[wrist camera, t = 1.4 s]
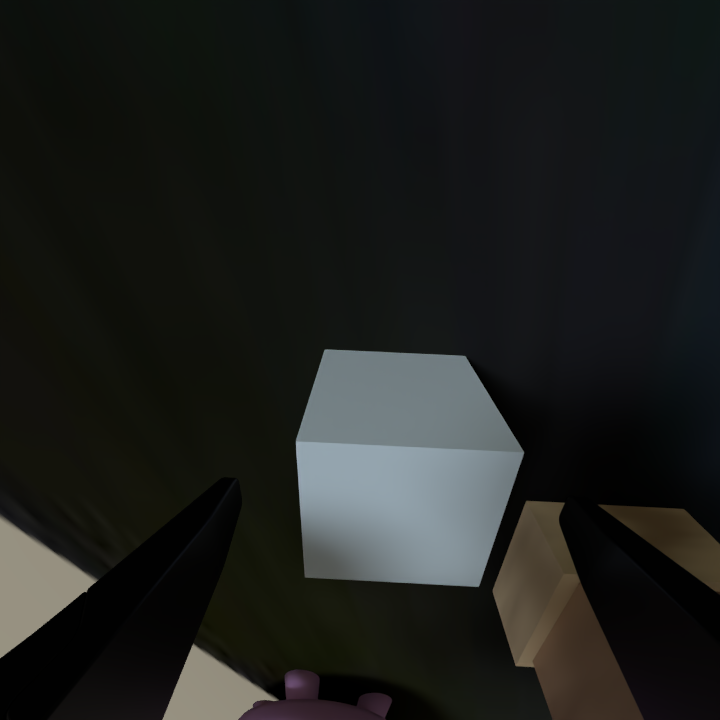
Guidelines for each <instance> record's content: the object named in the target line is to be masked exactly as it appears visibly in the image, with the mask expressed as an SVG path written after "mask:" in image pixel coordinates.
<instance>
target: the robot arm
mask: <svg viewBox="0 0 720 720" xmlns="http://www.w3.org/2000/svg"><path fill="white" fill-rule="evenodd" d="M241 505H242V496H241V491H240V485H239V481H238V479H237V478H227V477H224V478H221V479H220V480H218V481H217V482H216V483H215V484H214V485H212V486H211V487H210V488H209V489H208V490H206V491H205V492H204V493H203V494H202V495H200V496H199V497H198V498H197V499H196V500H194V501H193V502H192V503H191V504H190V505H188V506H187V507H186V508H185V509H183V510H182V511H181V512H180V513H179V514H177V515H176V516H175V517H174V518H173V519H171V520H170V521H169V522H168V523H167V524H165V525H164V526H163V527H162V528H161V529H159V530H158V531H157V532H156V533H155V534H153V535H152V536H151V537H150V538H149V539H147V540H146V541H145V542H144V543H143V544H141V545H140V546H139V547H138V548H137V549H135V550H134V551H133V552H132V553H131V554H129V555H128V556H127V557H126V558H124V559H123V560H122V561H121V562H120V563H118V564H117V565H116V566H115V567H114V568H112V569H111V570H110V571H109V572H108V573H106V574H105V575H104V576H103V577H102V578H100V579H99V580H98V581H97V582H96V583H94V584H93V585H92V586H91V587H90V588H88V590H87V592H84V593H82V594H81V595H80V596H79V597H78V598H76V599H75V600H74V601H73V602H71V603H70V604H69V605H68V606H67V607H66V608H64V609H63V610H62V611H60V612H59V613H58V614H57V615H55V616H54V617H53V618H52V619H50V620H49V621H48V622H47V623H45V624H44V625H43V626H42V627H41V628H39V629H38V630H37V631H36V632H34V633H33V634H32V635H31V636H29V637H28V638H26V639H25V640H24V641H23V642H21V643H20V644H19V645H17V646H16V647H15V648H13V649H12V650H11V651H9V652H8V653H7V654H5V655H4V656H3V657H1V658H0V720H162V719H163V717H164V714H165V712H166V709H167V707H168V704H169V701H170V699H171V697H172V694H173V692H174V689H175V687H176V684H177V682H178V679H179V677H180V674H181V672H182V669H183V667H184V664H185V662H186V660H187V657H188V654H189V652H190V650H191V647H192V645H193V642H194V640H195V637H196V635H197V632H198V630H199V627H200V625H201V622H202V620H203V617H204V615H205V612H206V610H207V607H208V605H209V602H210V600H211V597H212V595H213V592H214V590H215V587H216V585H217V582H218V580H219V577H220V575H221V572H222V570H223V567H224V564H225V561H226V558H227V554H228V551H229V547H230V544H231V541H232V537H233V534H234V530H235V527H236V523H237V520H238V516H239V513H240V510H241ZM559 524H560V527H561V530H562V533H563V536H564V538H565V541H566V544H567V547H568V550H569V552H570V555H571V558H572V561H573V564H574V566H575V569H576V572H577V575H578V577H579V580H580V582H581V585H582V587H583V590H584V592H585V594H586V596H587V599H588V601H589V603H590V605H591V607H592V609H593V612H594V614H595V616H596V618H597V620H598V622H599V624H600V627H601V629H602V631H603V633H604V635H605V637H606V640H607V642H608V644H609V646H610V648H611V650H612V652H613V655H614V657H615V659H616V661H617V663H618V665H619V668H620V670H621V672H622V674H623V676H624V678H625V680H626V683H627V685H628V687H629V689H630V691H631V693H632V696H633V698H634V700H635V702H636V704H637V706H638V709H639V711H640V713H641V715H642V717H643V719H644V720H720V594H718V593H717V592H716V591H714V590H713V589H711V588H710V587H709V586H707V585H706V584H705V583H703V582H702V581H701V580H699V579H698V578H696V577H695V576H694V575H692V574H691V573H690V572H688V571H687V570H686V569H684V568H683V567H681V566H680V565H679V564H677V563H676V562H675V561H673V560H672V559H671V558H669V557H668V556H667V555H665V554H664V553H662V552H661V551H660V550H658V549H657V548H656V547H654V546H653V545H652V544H650V543H649V542H647V541H646V540H645V539H643V538H642V537H641V536H639V535H638V534H637V533H635V532H634V531H632V530H631V529H630V528H628V527H627V526H626V525H624V524H623V523H622V522H620V521H619V520H618V519H616V518H615V517H613V516H612V515H611V514H609V513H608V512H607V511H605V510H604V509H603V508H601V507H600V506H598V505H597V504H596V503H594V502H593V501H592V500H590V499H589V498H587V497H584V496H569V497H568V498H567V499H566V501H565V504H564V506H563V508H562V510H561V513H560V515H559Z"/></svg>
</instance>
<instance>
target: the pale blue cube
mask: <svg viewBox="0 0 720 720" xmlns="http://www.w3.org/2000/svg"><path fill="white" fill-rule="evenodd" d="M296 451H297V466H298V481H299V496H300V511H301V526H302V540H303V555H304V570H305V577H308V578H327V579H345V580H364V581H382V582H400V583H419V584H437V585H455V586H474V587H479V585H480V582H481V579H482V576H483V573H484V570H485V567H486V564H487V561H488V558H489V555H490V552H491V549H492V546H493V543H494V540H495V537H496V534H497V531H498V529H499V526H500V523H501V520H502V517H503V514H504V511H505V508H506V505H507V502H508V499H509V496H510V493H511V490H512V487H513V484H514V481H515V478H516V475H517V472H518V469H519V466H520V464H521V461H522V458H523V455H524V451H523V450H522V448H521V446H520V445H519V443H518V442H517V440H516V438H515V437H514V435H513V433H512V432H511V430H510V428H509V427H508V425H507V424H506V422H505V420H504V419H503V417H502V415H501V414H500V412H499V410H498V409H497V407H496V406H495V404H494V402H493V401H492V399H491V397H490V396H489V394H488V392H487V391H486V389H485V388H484V386H483V384H482V383H481V381H480V379H479V378H478V376H477V374H476V373H475V371H474V370H473V368H472V366H471V365H470V363H469V361H468V360H467V358H466V357H465V356H454V355H432V354H411V353H389V352H367V351H346V350H325V351H324V354H323V357H322V360H321V363H320V366H319V370H318V373H317V376H316V379H315V382H314V385H313V389H312V392H311V395H310V398H309V401H308V404H307V408H306V411H305V414H304V417H303V420H302V423H301V427H300V430H299V433H298V436H297V439H296Z"/></svg>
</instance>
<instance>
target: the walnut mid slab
mask: <svg viewBox="0 0 720 720" xmlns="http://www.w3.org/2000/svg"><path fill="white" fill-rule="evenodd" d="M716 592H717V591H716ZM717 593H718V594H720V592H717ZM532 662H533V664H534V667H535V670H536V673H537V676H538V679H539V682H540V684H541V687H542V690H543V693H544V696H545V699H546V702H547V704H548V707H549V710H550V713H551V716H552V719H553V720H644V719H643V717H642V715H641V713H640V711H639V709H638V706H637V704H636V702H635V700H634V698H633V696H632V693H631V691H630V689H629V687H628V685H627V683H626V680H625V678H624V676H623V674H622V672H621V670H620V668H619V665H618V663H617V661H616V659H615V657H614V655H613V652H612V650H611V648H610V646H609V644H608V642H607V640H606V637H605V635H604V633H603V631H602V629H601V627H600V624H599V622H598V620H597V618H596V616H595V614H594V612H593V609H592V607H591V605H590V603H589V601H588V599H587V596H586V594H585V592H584V590H583V587H582V585H581V583H579V584H578V586H577V588H576V589H575V591H574V593H573V594H572V596H571V598H570V599H569V601H568V603H567V604H566V606H565V608H564V609H563V611H562V613H561V614H560V616H559V618H558V619H557V621H556V623H555V624H554V626H553V628H552V629H551V631H550V633H549V634H548V636H547V638H546V639H545V641H544V643H543V644H542V646H541V648H540V649H539V651H538V653H537V654H536V656H535V658H534V659H533V661H532Z"/></svg>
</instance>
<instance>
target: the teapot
mask: <svg viewBox="0 0 720 720" xmlns="http://www.w3.org/2000/svg"><path fill="white" fill-rule="evenodd" d="M319 681H320V678H319V676H318V675H316V674H315V673H313V672H310V671H306V670H292V671H289V672H287V673H286V674H285V690H286V700H279V701H269V700H261V701H257V702H255V703H254V704H253V708H252V709H250V710H248V711H247V712H245V713H244V714H243V715H242V716H241V717H240V718H239V719H238V720H386V719H385V716H386V714H387V712H388V709H389V707H390V705H391V703H392V699H391V697H389V696H387V695H385V694H381V693H367V694H364V695H361V696H360V697H359V700H358V703H357V706H353V705H349V704H345V703H340V702H335V701H327V700H318V692H319Z"/></svg>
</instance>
